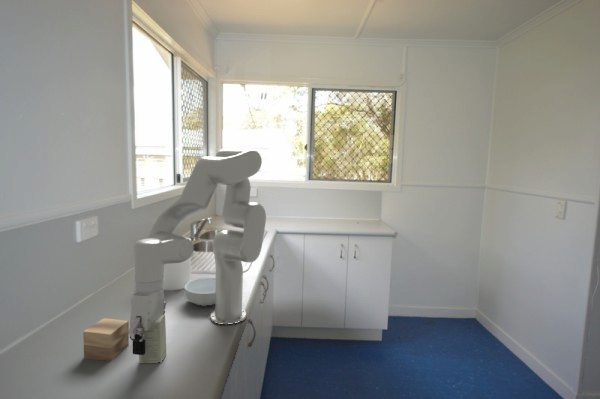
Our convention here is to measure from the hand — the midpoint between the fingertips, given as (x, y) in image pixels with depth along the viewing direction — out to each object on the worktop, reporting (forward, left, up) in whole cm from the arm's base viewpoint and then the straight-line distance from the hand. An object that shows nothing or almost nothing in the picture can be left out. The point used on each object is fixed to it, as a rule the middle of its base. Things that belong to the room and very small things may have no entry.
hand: (148, 344), depth 93 cm
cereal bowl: (-39, +2, -5) cm, 40 cm away
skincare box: (-1, +1, -5) cm, 5 cm away
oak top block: (-2, -14, -1) cm, 14 cm away
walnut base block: (-2, -14, -5) cm, 15 cm away
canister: (-54, -18, -5) cm, 57 cm away
